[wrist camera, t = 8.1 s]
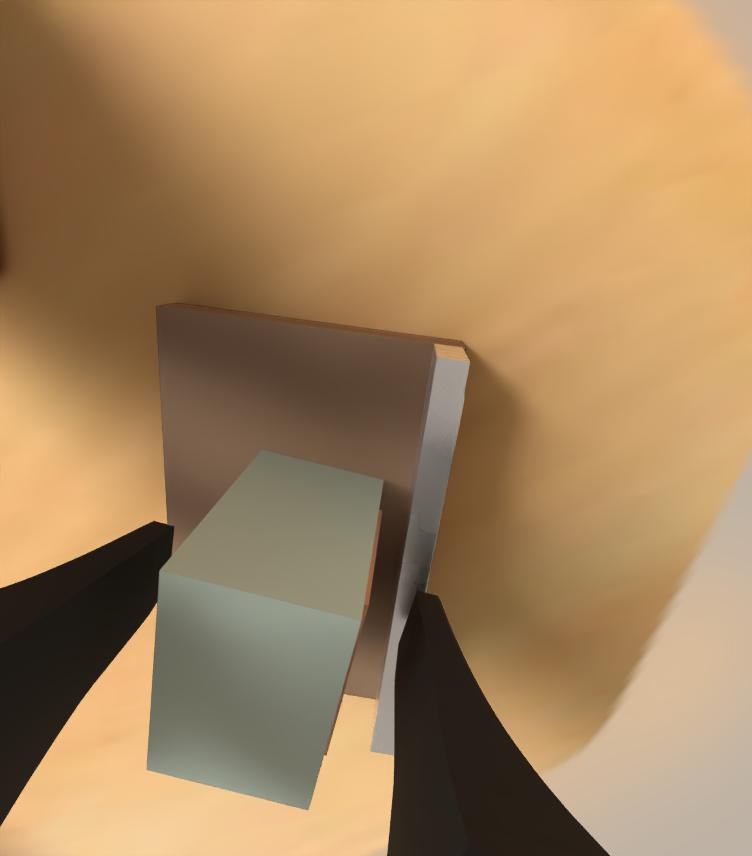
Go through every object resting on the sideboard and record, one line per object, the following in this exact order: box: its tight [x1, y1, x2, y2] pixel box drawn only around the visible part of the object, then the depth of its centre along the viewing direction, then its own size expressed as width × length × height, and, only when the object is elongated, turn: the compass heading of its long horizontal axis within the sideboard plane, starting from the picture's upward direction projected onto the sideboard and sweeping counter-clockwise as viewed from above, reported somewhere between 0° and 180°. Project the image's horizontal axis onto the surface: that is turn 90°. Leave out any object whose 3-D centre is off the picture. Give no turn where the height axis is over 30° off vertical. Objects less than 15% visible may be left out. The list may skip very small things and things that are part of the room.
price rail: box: [371, 344, 470, 755], centre depth 14 cm, size 14×1×2 cm, turn 173°
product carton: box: [147, 450, 384, 810], centre depth 12 cm, size 4×6×6 cm
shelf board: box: [156, 303, 466, 699], centre depth 16 cm, size 14×9×1 cm, turn 173°
